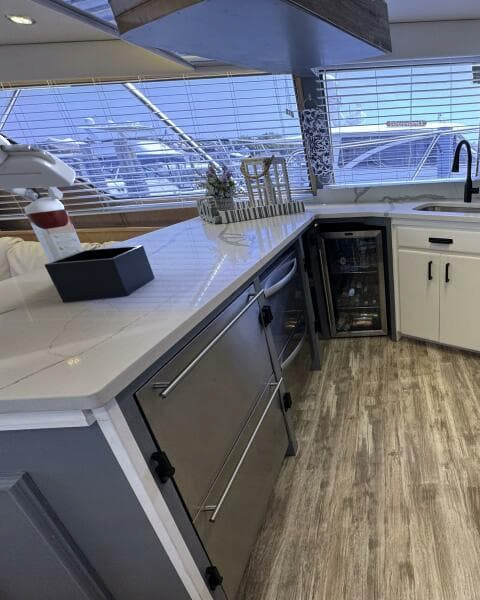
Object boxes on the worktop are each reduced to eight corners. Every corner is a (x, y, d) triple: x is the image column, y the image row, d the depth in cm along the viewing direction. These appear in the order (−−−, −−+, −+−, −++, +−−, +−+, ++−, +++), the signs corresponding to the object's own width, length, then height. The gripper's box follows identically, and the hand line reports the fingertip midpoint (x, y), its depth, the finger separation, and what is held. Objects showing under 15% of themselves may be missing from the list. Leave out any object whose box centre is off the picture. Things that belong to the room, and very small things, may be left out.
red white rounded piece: (68, 227, 71) (40, 169, 66) (29, 232, 68) (-3, 172, 63) (77, 223, 79) (53, 170, 74) (42, 227, 75) (14, 173, 71)
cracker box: (99, 282, 95) (67, 209, 87) (72, 289, 90) (36, 213, 82) (83, 275, 102) (52, 207, 94) (57, 281, 97) (22, 210, 89)
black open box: (62, 302, 81) (43, 264, 77) (99, 283, 94) (85, 250, 90) (128, 295, 83) (112, 258, 80) (154, 278, 97) (143, 245, 93)
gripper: (41, 132, 61) (100, 184, 74) (-82, 135, 59) (0, 188, 72) (31, 157, 59) (93, 206, 71) (-97, 162, 56) (-10, 211, 69)
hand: (46, 197), depth 71 cm, fingers closed on red white rounded piece, 4 cm apart
